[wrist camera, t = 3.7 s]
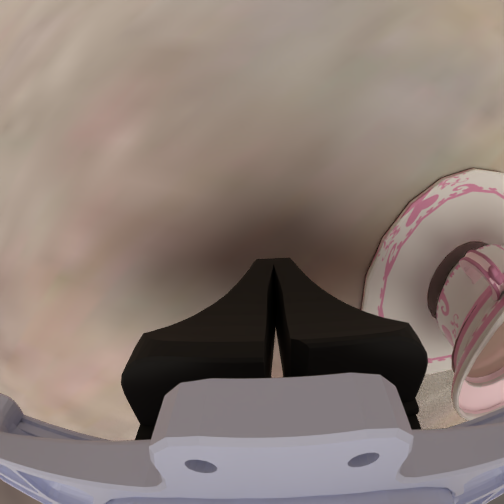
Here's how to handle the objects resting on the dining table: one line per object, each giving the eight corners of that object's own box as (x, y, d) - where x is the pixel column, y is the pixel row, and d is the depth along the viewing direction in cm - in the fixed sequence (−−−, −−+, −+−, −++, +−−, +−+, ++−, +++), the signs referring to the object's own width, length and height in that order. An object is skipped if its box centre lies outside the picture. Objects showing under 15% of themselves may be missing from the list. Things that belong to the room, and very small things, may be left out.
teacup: (549, 272, 13) (604, 322, 7) (423, 393, 17) (453, 466, 11) (485, 115, 10) (586, 131, 4) (307, 293, 14) (328, 402, 8)
